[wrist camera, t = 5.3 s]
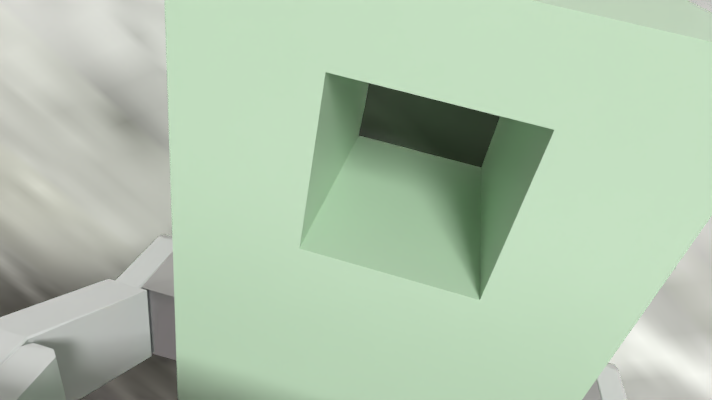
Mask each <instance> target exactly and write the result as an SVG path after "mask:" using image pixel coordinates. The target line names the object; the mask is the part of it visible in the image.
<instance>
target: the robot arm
mask: <svg viewBox="0 0 712 400" xmlns="http://www.w3.org/2000/svg"><path fill="white" fill-rule="evenodd" d="M152 354H155V355H159V356H162V357H166V358H170V359H173V360H176V332H175V302H174V272H173V241H172V236H169V235H166V234H163V235H161V236H159V237H157V238H156V239H155V240H154V241H153V242H152V243H151V244H150V245H149V246H148V247H147V248H146V249H145V250H144V251H143V252H142V254H141V255H140V256H139V257H138V258H137V259H136V260H135V261H134V262H133V263H132V264H131V265H130V266H129V267H128V268H127V269H126V270H125V271H124V272H123V273H122V274H121V275H120V276H119V277H118V278H117V279H116V280H112V279H107V280H104V281H101V282H98V283H95V284H92V285H90V286H87V287H84V288H81V289H78V290H75V291H73V292H70V293H67V294H64V295H61V296H59V297H56V298H53V299H50V300H47V301H44V302H42V303H39V304H36V305H33V306H30V307H28V308H25V309H22V310H19V311H16V312H13V313H11V314H8V315H5V316H2V317H0V400H79V399H81V398H83V397H84V396H86V395H88V394H89V393H91V392H93V391H94V390H96V389H98V388H99V387H101V386H103V385H104V384H106V383H108V382H109V381H111V380H113V379H114V378H116V377H118V376H119V375H121V374H123V373H124V372H126V371H128V370H129V369H131V368H132V367H134V366H136V365H137V364H139V363H141V362H142V361H144V360H146V359H147V358H149V357H151V356H152ZM582 400H627V397H626V394H625V390H624V387H623V384H622V380H621V377H620V373H619V370H618V368H617V367H616V366H615V365H614V364H611V363H608V364H607V365H606V367H605V368H604V369H603V371H602V372H601V374H600V375H599V377H598V378H597V379H596V381H595V382H594V384H593V385H592V386H591V388H590V389H589V391H588V392H587V394H586V395H585V396H584V398H583V399H582Z"/></svg>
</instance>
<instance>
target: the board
mask: <svg viewBox="0 0 712 400" xmlns="http://www.w3.org/2000/svg"><path fill="white" fill-rule="evenodd" d="M165 29H166V59H167V89H168V120H169V150H170V180H171V211H172V241H173V272H174V302H175V332H176V363H177V393H178V400H582V399H583V398H584V396H585V395H586V394H587V392H588V391H589V389H590V388H591V386H592V385H593V384H594V382H595V381H596V379H597V378H598V377H599V375H600V374H601V372H602V371H603V369H604V368H605V367H606V365H607V364H608V362H609V361H610V359H611V358H612V357H613V355H614V354H615V352H616V351H617V349H618V348H619V347H620V345H621V344H622V342H623V341H624V340H625V338H626V337H627V335H628V334H629V332H630V331H631V330H632V328H633V327H634V325H635V324H636V322H637V321H638V320H639V318H640V317H641V315H642V314H643V313H644V311H645V310H646V308H647V307H648V305H649V304H650V303H651V301H652V300H653V298H654V297H655V295H656V294H657V293H658V291H659V290H660V288H661V287H662V286H663V284H664V283H665V281H666V280H667V278H668V277H669V276H670V274H671V273H672V271H673V270H674V268H675V267H676V266H677V264H678V263H679V261H680V260H681V259H682V257H683V256H684V254H685V253H686V251H687V250H688V249H689V247H690V246H691V244H692V243H693V241H694V240H695V239H696V237H697V236H698V234H699V233H700V232H701V230H702V229H703V227H704V226H705V224H706V223H707V222H708V220H709V219H710V217H711V216H712V13H711V12H710V11H708V10H706V9H704V8H702V7H700V6H698V5H696V4H694V3H692V2H690V1H688V0H165ZM369 83H371V84H375V85H379V86H383V87H387V88H391V89H395V90H398V91H402V92H406V93H410V94H414V95H418V96H422V97H426V98H430V99H434V100H438V101H442V102H446V103H450V104H454V105H458V106H462V107H466V108H470V109H474V110H478V111H482V112H486V113H490V114H494V115H498V116H500V118H499V121H498V123H497V126H496V129H495V132H494V134H493V137H492V140H491V143H490V145H489V148H488V151H487V154H486V156H485V159H484V162H483V164H482V167H477V166H473V165H470V164H466V163H462V162H458V161H454V160H450V159H447V158H443V157H439V156H435V155H431V154H428V153H424V152H420V151H416V150H412V149H409V148H405V147H401V146H397V145H393V144H389V143H386V142H382V141H378V140H374V139H370V138H367V137H363V136H359V132H360V127H361V122H362V117H363V112H364V107H365V102H366V97H367V92H368V87H369Z"/></svg>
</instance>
